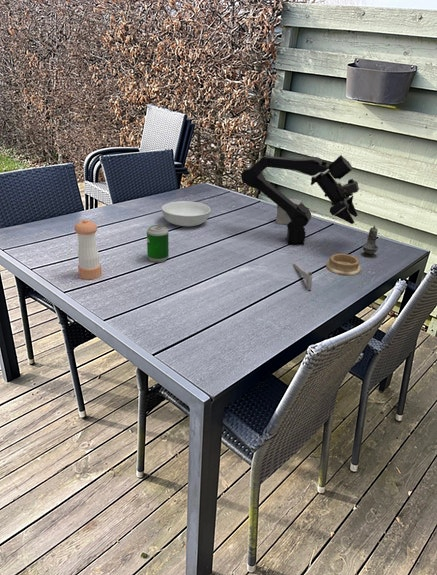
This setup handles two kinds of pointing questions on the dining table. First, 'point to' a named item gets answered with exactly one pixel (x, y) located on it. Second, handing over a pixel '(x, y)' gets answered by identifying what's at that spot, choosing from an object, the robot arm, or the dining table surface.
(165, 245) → the soda can
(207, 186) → the dining table surface
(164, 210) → the serving bowl
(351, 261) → the dish
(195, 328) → the dining table surface
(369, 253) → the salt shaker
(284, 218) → the incense holder
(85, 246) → the pepper shaker
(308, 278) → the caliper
